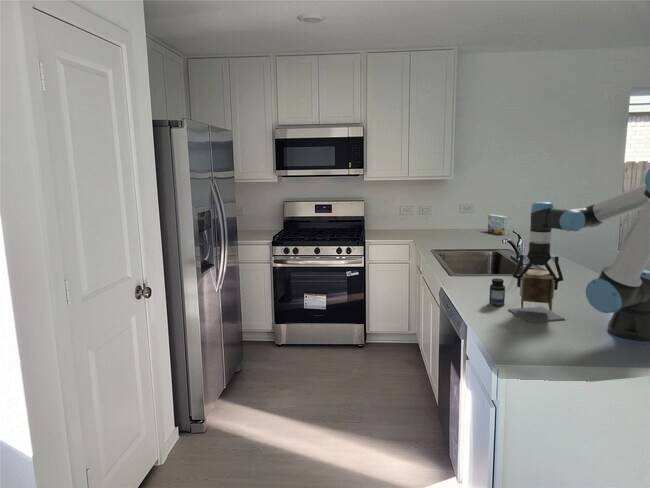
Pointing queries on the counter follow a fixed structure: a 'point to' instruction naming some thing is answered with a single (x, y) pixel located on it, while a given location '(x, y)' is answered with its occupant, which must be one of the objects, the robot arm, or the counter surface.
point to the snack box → (498, 224)
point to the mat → (536, 314)
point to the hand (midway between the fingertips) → (536, 296)
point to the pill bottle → (497, 292)
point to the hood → (537, 287)
